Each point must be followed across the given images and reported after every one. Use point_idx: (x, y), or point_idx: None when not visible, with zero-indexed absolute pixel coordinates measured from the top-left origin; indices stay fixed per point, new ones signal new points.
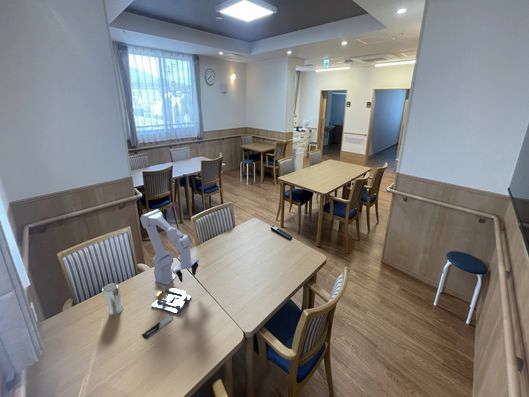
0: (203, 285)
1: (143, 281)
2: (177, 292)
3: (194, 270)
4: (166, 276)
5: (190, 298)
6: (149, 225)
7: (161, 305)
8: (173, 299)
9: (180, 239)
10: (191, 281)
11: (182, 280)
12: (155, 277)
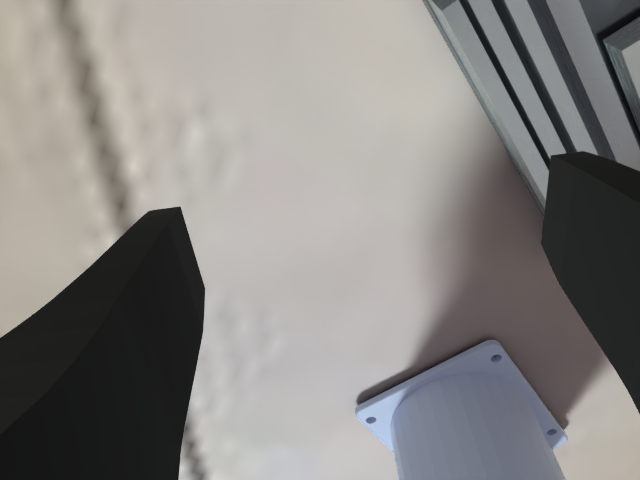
0: (69, 76)
1: (632, 471)
2: (561, 87)
3: (112, 320)
4: (508, 446)
5: None
6: None
7: None
8: (625, 25)
9: None
10: (218, 252)
11: (578, 167)
12: (563, 476)
